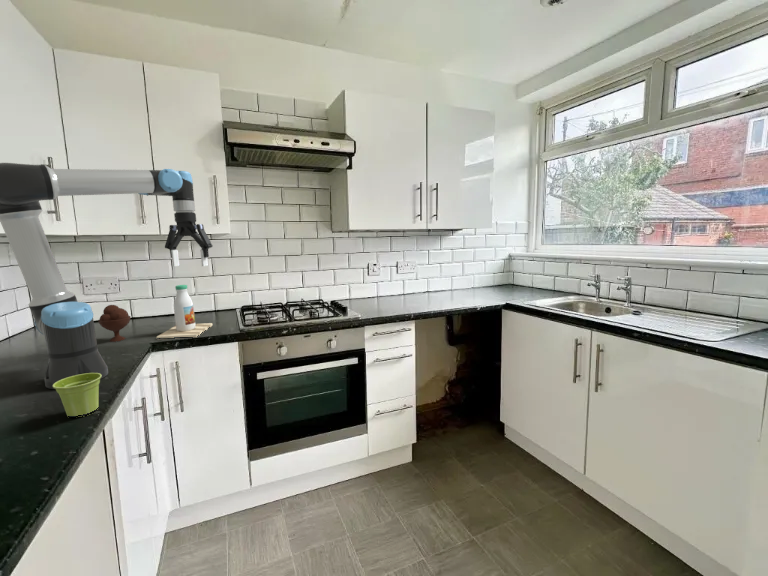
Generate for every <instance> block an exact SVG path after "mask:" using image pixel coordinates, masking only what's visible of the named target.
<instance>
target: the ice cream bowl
mask: <svg viewBox="0 0 768 576" xmlns="http://www.w3.org/2000/svg"><path fill="white" fill-rule="evenodd" d="M97 321H98V323H99V325H100V326H101V327H102V328H103V329H105V330H108V331H111V332H113V333H114V335H113V337H112V338H110V339H109V342H111V343H114V342H115V343H116V341H117V342H120V341H121V340H122V341H125V340H126V337H124V336H122V335H120V330H122V329H125V328H126V326H128V324H129V323H130V321H131V315H129V313H128V311H127V310H126V309H124V308H121V307H119V306H118V305H115V304H108V305H106V306H105V307H104V309H103V312H102V314H101V315H100V317H99V319H98V320H97ZM124 339H125V340H124Z"/></svg>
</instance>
